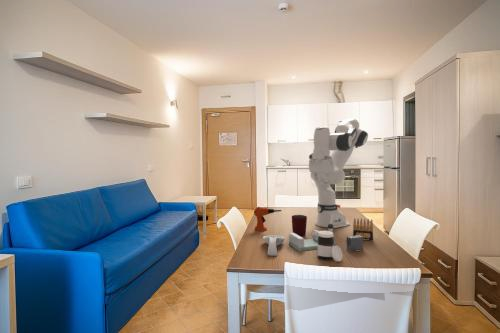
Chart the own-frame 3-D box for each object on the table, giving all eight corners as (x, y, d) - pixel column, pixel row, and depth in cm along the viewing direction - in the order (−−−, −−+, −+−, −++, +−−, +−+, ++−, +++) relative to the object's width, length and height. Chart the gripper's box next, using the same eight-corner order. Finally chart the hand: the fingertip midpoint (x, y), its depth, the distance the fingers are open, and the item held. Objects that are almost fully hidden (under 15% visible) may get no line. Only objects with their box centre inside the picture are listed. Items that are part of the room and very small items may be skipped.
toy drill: (282, 231, 174) (279, 206, 174) (253, 231, 182) (251, 208, 181) (284, 229, 179) (281, 205, 179) (256, 229, 186) (253, 206, 186)
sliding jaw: (326, 236, 163) (327, 221, 162) (338, 242, 152) (339, 226, 152) (311, 238, 159) (312, 222, 159) (323, 244, 149) (323, 227, 149)
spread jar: (317, 252, 143) (318, 229, 142) (341, 254, 139) (342, 231, 139) (316, 261, 131) (316, 236, 130) (342, 264, 128) (342, 238, 127)
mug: (290, 231, 180) (291, 213, 179) (305, 231, 179) (305, 213, 178) (292, 236, 168) (292, 218, 167) (307, 237, 167) (307, 218, 166)
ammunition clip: (352, 239, 164) (353, 218, 163) (352, 238, 165) (353, 217, 165) (373, 240, 160) (373, 219, 160) (372, 239, 162) (373, 218, 161)
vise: (324, 239, 162) (324, 229, 162) (336, 245, 152) (336, 234, 151) (288, 244, 155) (288, 233, 155) (298, 250, 145) (298, 239, 144)
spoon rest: (263, 240, 162) (263, 228, 162) (284, 241, 161) (284, 228, 160) (260, 256, 138) (260, 241, 138) (285, 257, 137) (285, 242, 137)
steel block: (358, 248, 148) (359, 235, 148) (362, 250, 145) (363, 236, 145) (346, 250, 146) (346, 236, 145) (350, 252, 143) (350, 238, 142)
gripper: (337, 156, 151) (336, 182, 151) (316, 155, 170) (316, 179, 171) (327, 156, 149) (326, 183, 149) (307, 155, 168) (306, 179, 169)
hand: (320, 181), depth 160 cm, fingers open, 8 cm apart
